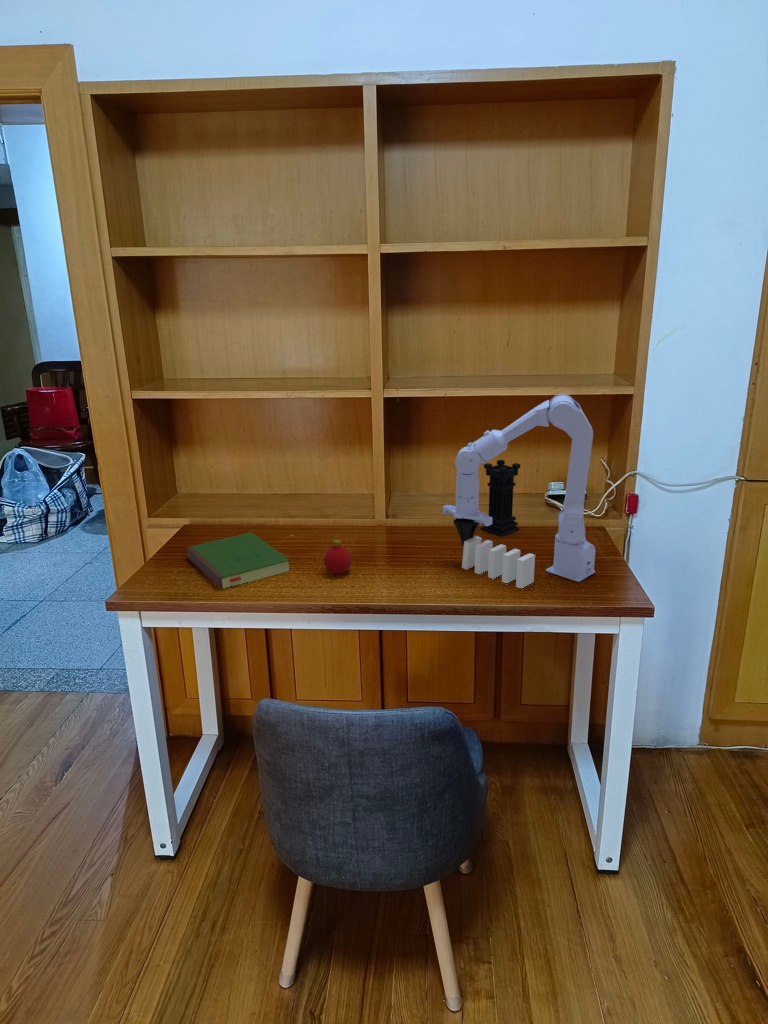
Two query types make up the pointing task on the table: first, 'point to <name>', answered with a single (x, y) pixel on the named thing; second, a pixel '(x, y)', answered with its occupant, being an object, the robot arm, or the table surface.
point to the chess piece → (501, 498)
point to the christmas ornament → (337, 558)
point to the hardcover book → (237, 560)
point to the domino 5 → (525, 570)
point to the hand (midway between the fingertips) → (466, 545)
